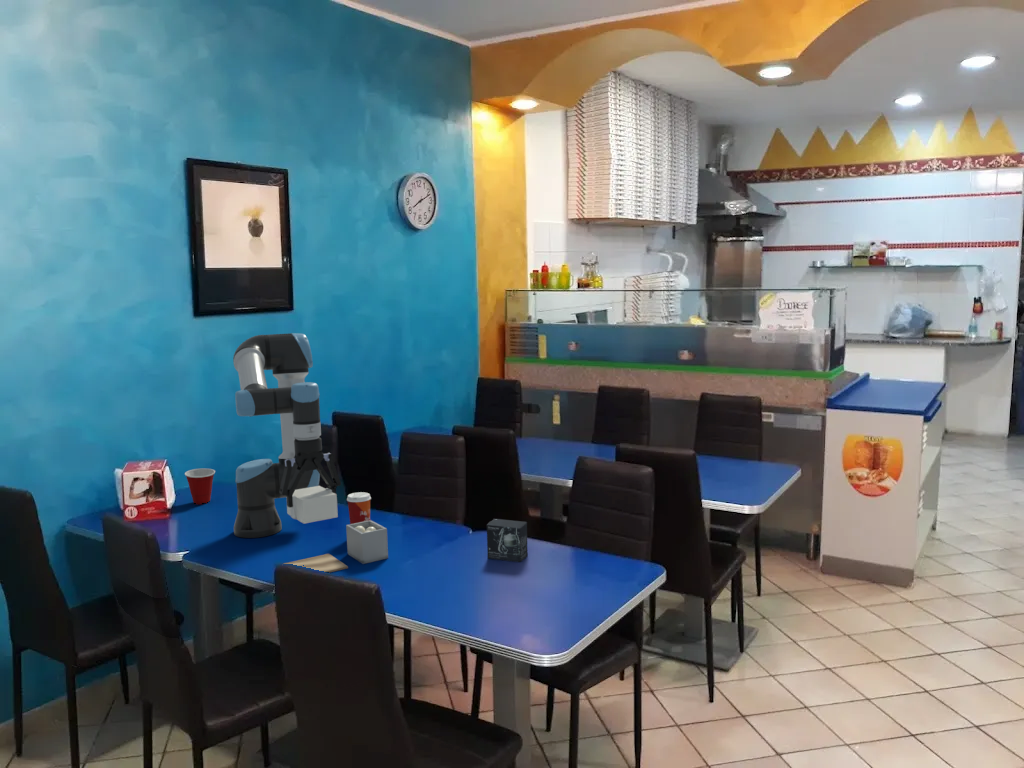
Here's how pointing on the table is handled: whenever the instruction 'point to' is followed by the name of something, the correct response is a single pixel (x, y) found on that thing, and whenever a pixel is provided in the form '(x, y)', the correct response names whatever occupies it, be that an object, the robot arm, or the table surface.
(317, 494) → the lid
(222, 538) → the table surface
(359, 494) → the paper cup
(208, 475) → the plastic cup
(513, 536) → the box
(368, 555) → the dough box
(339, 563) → the trivet
